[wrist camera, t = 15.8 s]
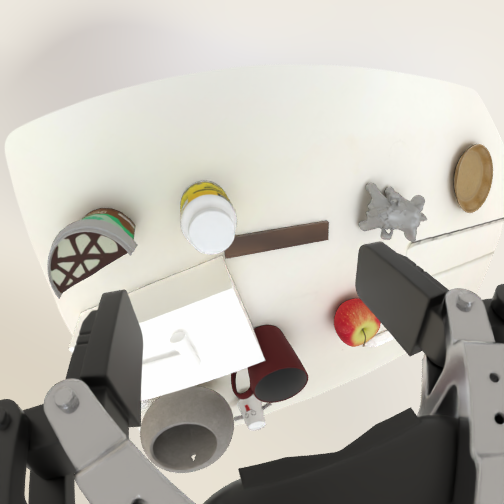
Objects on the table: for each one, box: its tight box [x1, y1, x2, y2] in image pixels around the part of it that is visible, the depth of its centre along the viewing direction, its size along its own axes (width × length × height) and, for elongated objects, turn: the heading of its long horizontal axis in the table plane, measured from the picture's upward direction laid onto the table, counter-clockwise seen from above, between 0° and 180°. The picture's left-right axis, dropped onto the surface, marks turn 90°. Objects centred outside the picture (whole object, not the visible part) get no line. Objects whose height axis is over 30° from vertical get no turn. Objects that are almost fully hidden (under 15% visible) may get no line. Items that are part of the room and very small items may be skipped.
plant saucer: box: [454, 144, 493, 213], centre depth 46 cm, size 15×15×3 cm
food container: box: [48, 208, 137, 298], centre depth 32 cm, size 12×6×10 cm, turn 114°
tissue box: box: [69, 256, 265, 401], centre depth 41 cm, size 14×25×11 cm, turn 108°
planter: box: [140, 386, 234, 473], centre depth 45 cm, size 18×7×19 cm, turn 106°
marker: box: [362, 330, 394, 347], centre depth 60 cm, size 3×2×16 cm
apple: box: [334, 298, 381, 347], centre depth 49 cm, size 8×8×10 cm
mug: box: [231, 325, 308, 403], centre depth 47 cm, size 12×9×11 cm
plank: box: [224, 221, 329, 258], centre depth 43 cm, size 3×16×1 cm, turn 95°
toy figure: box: [234, 393, 273, 430], centre depth 55 cm, size 12×6×8 cm, turn 117°
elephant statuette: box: [359, 183, 427, 242], centre depth 42 cm, size 9×12×8 cm
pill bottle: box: [181, 181, 237, 254], centre depth 34 cm, size 6×6×11 cm
